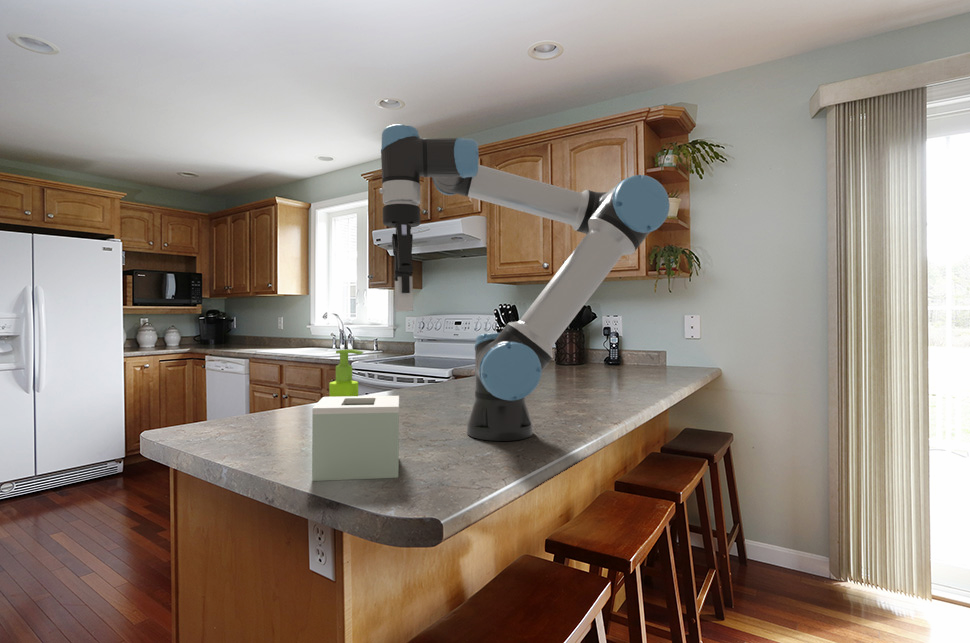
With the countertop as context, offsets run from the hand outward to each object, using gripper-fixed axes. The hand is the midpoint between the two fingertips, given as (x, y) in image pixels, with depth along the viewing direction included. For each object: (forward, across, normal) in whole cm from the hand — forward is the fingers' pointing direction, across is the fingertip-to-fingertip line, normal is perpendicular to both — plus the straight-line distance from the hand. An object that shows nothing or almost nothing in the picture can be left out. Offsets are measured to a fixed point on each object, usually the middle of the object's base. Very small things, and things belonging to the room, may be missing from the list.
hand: (403, 311), depth 107 cm
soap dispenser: (+28, -6, -12) cm, 31 cm away
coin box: (+28, +12, -9) cm, 32 cm away
